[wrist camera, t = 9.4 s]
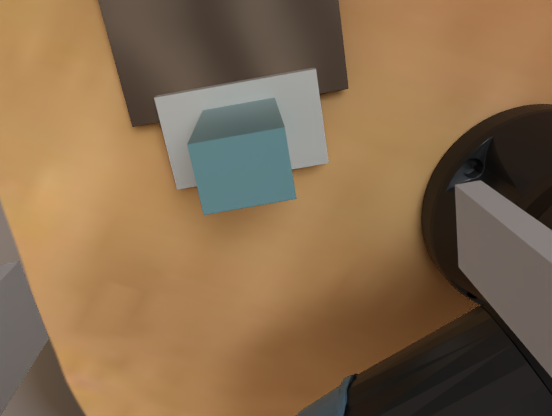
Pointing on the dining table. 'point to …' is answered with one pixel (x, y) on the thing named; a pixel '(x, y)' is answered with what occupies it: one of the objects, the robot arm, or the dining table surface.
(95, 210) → the dining table surface
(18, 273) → the robot arm
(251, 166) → the teal cube on panel
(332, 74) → the board
